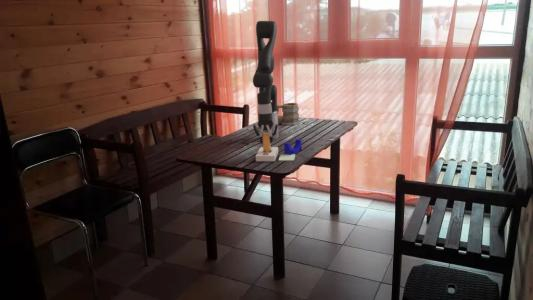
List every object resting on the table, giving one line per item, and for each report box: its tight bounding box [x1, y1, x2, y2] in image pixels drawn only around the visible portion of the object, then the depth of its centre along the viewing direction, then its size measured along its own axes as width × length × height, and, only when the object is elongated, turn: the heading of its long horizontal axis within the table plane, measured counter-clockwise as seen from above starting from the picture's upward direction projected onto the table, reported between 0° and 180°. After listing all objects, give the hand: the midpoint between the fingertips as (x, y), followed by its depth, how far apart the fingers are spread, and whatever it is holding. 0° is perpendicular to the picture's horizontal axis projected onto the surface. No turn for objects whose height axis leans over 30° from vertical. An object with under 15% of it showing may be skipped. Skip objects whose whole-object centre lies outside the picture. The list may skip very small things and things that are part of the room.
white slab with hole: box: [255, 146, 279, 162], centre depth 239 cm, size 16×10×3 cm, turn 171°
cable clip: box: [283, 138, 303, 155], centre depth 243 cm, size 12×4×6 cm, turn 140°
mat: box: [278, 153, 296, 162], centre depth 235 cm, size 10×8×1 cm
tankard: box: [277, 102, 301, 127], centre depth 310 cm, size 20×13×15 cm, turn 84°
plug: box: [262, 132, 272, 153], centre depth 237 cm, size 4×4×10 cm
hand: (266, 142), depth 237 cm, fingers closed on plug, 4 cm apart
